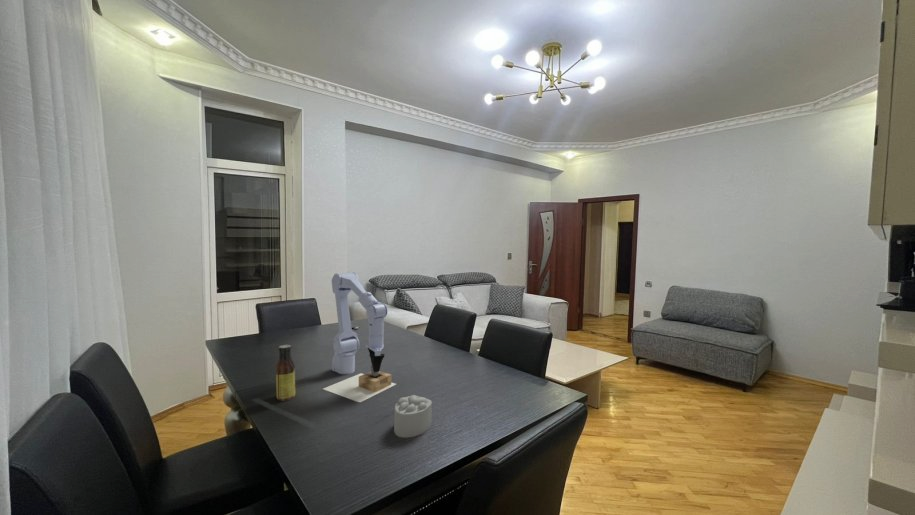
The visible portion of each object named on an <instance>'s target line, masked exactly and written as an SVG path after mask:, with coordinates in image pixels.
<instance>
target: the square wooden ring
mask: <svg viewBox="0 0 915 515" xmlns="http://www.w3.org/2000/svg"><path fill="white" fill-rule="evenodd" d="M378 373H379V377H378V378H376V379H375V378H372V377H371V371H369V372H366V373H363V374H364V375H361V376H359V387H361V388H364V389H368V390H371V391H374V392H377V391H379V390H381V389H383V388H385V387H387V386H389V385H391V382H392V374H391V373H389V372H388V373H387V372H383V371H380V370H379V372H378Z"/></svg>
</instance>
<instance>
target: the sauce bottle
mask: <svg viewBox="0 0 915 515" xmlns="http://www.w3.org/2000/svg"><path fill="white" fill-rule="evenodd" d="M291 350H292V345H291V344H283V345H279V346H278V352H279V355H278V356H279V357H278V358H279V359H278V361H277V363H276V366H275V385H276V386H275V388H276V400H278V401H281V402H283V401H285V402H286V401H289V400H292V399H294V398H295V397H296V367H295V363H294V361H293V358H292V355H291V353H292V352H291Z"/></svg>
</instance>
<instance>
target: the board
mask: <svg viewBox="0 0 915 515" xmlns="http://www.w3.org/2000/svg"><path fill="white" fill-rule="evenodd" d="M364 374H365V373H358V374H356V375H353V376H351V377H347V378H345V379H343V380H341V381H339V382H336V383H334V384H331V385H328V386H327V387H324V388H322V390H325V391H326V392H330V393H333V394H335V395H338V396H340V397H343V398H346V399H349V400H351V401H354V402H356V403H362V402H364V401H366V400H367V399H370V398H372V397H374V396H375V395H378V394H380V393H383V392H384V391H386V390H388V389H390V388H392V387H394V386H396V385H397V383H395V382H392V381H391V385H389V386H387V387H385V388H383V389H381V390H379V391H377V392H374V391H371V390H368V389H364V388H361V387H359V376H361V375H364Z"/></svg>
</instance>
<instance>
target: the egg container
mask: <svg viewBox="0 0 915 515" xmlns="http://www.w3.org/2000/svg"><path fill="white" fill-rule="evenodd" d="M432 402H433V401H432V400H431V399H429V398H426V397H424V396H419V395H415V394H412V395H409V396H405V397H404V396H403V397H400V398H399V399H398V401H397V403H395V405H394V414H393V415H394V417H393V418H394V419H393V421H394V422H393V433H394V434H395V436H397V437H399V438H414V437H416V436H420V435H422V434H424V433H425V432H426V431H427V430H429V428H430V427H431V425H432V410H433V409H432V407H433V406H432V405H433V403H432Z"/></svg>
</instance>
